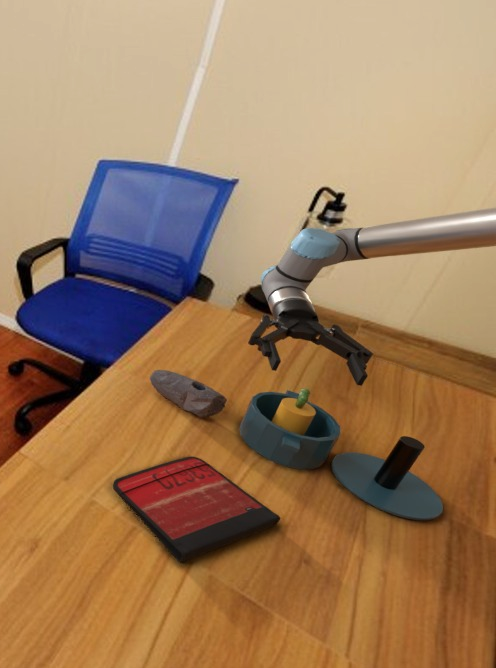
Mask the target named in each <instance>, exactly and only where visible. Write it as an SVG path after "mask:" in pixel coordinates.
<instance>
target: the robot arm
mask: <svg viewBox="0 0 496 668" xmlns="http://www.w3.org/2000/svg"><path fill="white" fill-rule="evenodd" d="M490 247H491V248H493V247H496V206H495V207H488V208H482V209H475V210H469V211H468V210H467V211H462V212H456V213H449V214H442V215H435V216H428V217H421V218H414V219H409V220H402V221H395V222H388V223H381V224H376V225H367V226H363V227H354V228H353V227H352V228H351V227H350V228H349V227H348V228H347V227H346V228H342V229H338V230H335V231H332V232H331V231H328V230H325V229H323V228H319V227H315V228H314V227H307V228H304V229H301V231H300V232H299V233H298V234H297V235H296V237H295V238H293V240H292V241H291V243H290V245H289V246H288V248H287V250H286V251H285V253H284V254H283V256H282V257H281V259H280V260H279V262H277V264H276V265H273V266H271V267H269V268H267V269H265V270H263V272H262V274H261V275H260V283H261V290H262V293H264V296H265V298H266V301H267V304H268V307H269V310H270V312H271V315H272V318H270V315H269V314H263V315H262V317H261V319H260V321H259V324H258V325H257V327H256V328H255V329H254V331H253V332H252V333H251V335H250V338H249V340H248V342H247V344H248V345H249V346H255V345H256V346H257V348H256V349H257V351H259V352H261V355H262V356H263V357H267V359H268V363H269V366H270V369H271V371H274V372H275V371H276V372H277V370H278V368H279V366H280V364H281V362H282V360H281V357H280V354H279V351H278V348H277V345H276V343H279V342H280V341H282V340H286V339H287V338H289V337H290V338H292V339H294V340H295V339H296V340H303V341H307V342H311V343H313V344H314V345H316V346H322V347H324V348H325V349H327V350H329V351H331V352H332V353H334V354H336V355H337V356H339V357H341V358H342V359H345V361H346V366H347V369H348V370H349V372H350V374H351V376H352V379H353V380H354V382H355V384H356V386H360V387H361V386H363V384H364V383H365V381H366V379H367V378H368V377H369V375H368V372H367V371H366V370H367V368H368V365H367V364H368V363H369V361H370V360H371V359H372V357H373V355H374V353H373V352H372V351H370V349H368V348H366V347H365V346H364V345H363V344H361V343H360V342H358V341H357V340H356V339H354V338H353V337H352V336H350V335H349V334H348V333H346V332H345V331H343V329H342V328H341V327H340V325H338V324H332V326H330V327H329V326H324V325H323V324H322V323H320V321H319V320H320V319H319V316H318V314H317V312H316V310H315V307H314V305H313V303H312V301H311V298H310V297H309V294H308V293H307V291H306V290H307V289H308V287H309V286H310V284H311V283H312V282H313V281H314V279H315V278H316V277H317V276H318V274H319V273H320V272H321V271H322V269H323V268H327V267H330V266H334V265H338V264H340V263H345V262H346V263H347V262H352V261H360V260H361V261H363V260H369V259H370V260H371V259H379V258H380V259H381V258H391V257H399V256H410V255H421V254H429V253H430V254H431V253H440V252H450V251H461V250H470V249H481V248H490ZM273 326H274V327H275V330H273V331H271V332H269V333H268V334H265V332H266V331H267V330H268V329H270V328H272V327H273ZM264 334H265V335H264ZM263 335H264V336H263Z"/></svg>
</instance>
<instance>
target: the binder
mask: <svg viewBox="0 0 496 668" xmlns="http://www.w3.org/2000/svg"><path fill="white" fill-rule="evenodd" d="M112 488H113V490H114V491H115V493H116V494H117V495H118V496H119V498H121V499H122V500H123V501H124V503H125V504H126V505H127V506H128V507H129V508H130V509H131V510H132V512H133V513H135V515H137V517H138V518H139V519H140V520H141V521H142V523H143V524H145V525H146V527H148V529H149V530H150V531H151V532H152V533H153V535H154V536H155V537H156V538H157V539H158V540H159V541H160V543H162V545H163V546H164V547H165V548H166V549H167V550H168V552H169V553H171V555H172V556H173V557H174V558H175V559H176V560H177V561H178V562H179V563H184V562H185V561H188V560H191V559H194V558H196V557H199V556H201V555H205V554H207V553H210V552H212V551H214V550H217V549H220V548H222V547H225V546H227V545H229V544H231V543H234V542H237V541H239V540H242V539H244V538H246V537H249V536H252V535H254V534H257V533H259V532H261V531H264V530H266V529H269V528H271V527H275V526H277V525H278V523H279V522H280V521H281V516H280V515H279V514H277V513H275V512H274V511H273V510H271V509H270V508H268V507H267V506H266V505H264V504H263V503H262V502H260V501H259V500H257V499H256V498H255V497H253V496H252V495H251V494H249V493H248V492H247V491H245V490H244V489H242V488H241V487H240V486H239V485H237V484H236V483H235V482H233V481H232V480H231V479H229V478H228V477H227V476H225V475H224V474H223V473H221V472H220V471H218V470H217V469H216V468H214V467H213V466H211V465H210V464H209V463H208V462H207V461H205V460H203V459H202V458H199V457H196V456H186V457H182V458H178V459H173V460H171V461H167V462H164V463H160V464H158V465H154V466H151V467H148V468H145V469H141V470H138V471H136V472H135V471H134V472H132V473H129V474H126V475H123V476H121V477H118V478H116V479H115V480H114V481H113V483H112Z"/></svg>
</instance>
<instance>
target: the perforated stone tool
mask: <svg viewBox="0 0 496 668" xmlns="http://www.w3.org/2000/svg"><path fill="white" fill-rule="evenodd" d="M149 381H150V384H151V385H152V387H153V388H154V390H156V392H158V393H159V394H160V395H161V396H162V397H164V398H166V399H168V400H169V401H170V402H171V403H172V404H175V405H176V406H178V407H179V408H181V409H182V410H184V411H186V412H189V413H191V414H193V415H196V416H197V417H199V418H206V417H213V416H215V415H218V414H220V413H221V412H222V411H223V410H224V408H226V403H227V402H228V399H227V398H226V397H225V396H224V395H223V394H222V393H220V392H219V391H216V390H215V389H213V388H212V387H210V386H208V385H207V384H204V383H202V382H201V381H199V380H196V379H194V378H191V377H189V376H186V375H183V374H180V373H178V372H175V371H171V370H168V369H167V370H166V369H155V370H153V371H152V373H151V374H150V375H149Z"/></svg>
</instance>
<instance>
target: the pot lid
mask: <svg viewBox="0 0 496 668" xmlns="http://www.w3.org/2000/svg"><path fill="white" fill-rule="evenodd" d="M425 447H426V446H425V444H424V443H423V442H421V441H420V440H419V439H417V438H414V437H412V436H407V435H403V436H400V437H399V439H398V440H397V442H396V443H395V445H394V446H393V448H391V449H392V450H391V451H390V453H389V454H388V456H386V459H384V458H381V457H377V456H375V455H370V454H367V453H361V452H352V451H351V452H341V453H339V454H337V455H335V456H334V457H333V459H332V460H331V464H330V465H331V471H332V473H333V475H334V476H335V478H336V479H337V480H338V481H339V482H340V483H341V485H342V486H343V487H345V489H347V490H348V491H349V492H351V493H352V494H353V495H355V496H356V497H357V498H358V499H360V500H362V501H363V502H366V503H367V504H369V505H371V506H373V507H375V508H377V509H379V510H381V511H383V512H386V513H388V514H391V515H393V516H397V517H400V518H404V519H409V520H415V521H431V520H435V519H437V518H439V517H440V516H441V515H442V513H443V510H444V505H443V501H442V499H441V498H440V495H438V493H437V492H436V491H435V490H434V489H433V487H431V486H430V485H429V484H428V483H427V482H425V481H424V480H423V479H421V478H420V477H419V476H418V475H416V474H415V473H412V472H411V471H410V469H411V468H412V467H413V466H414V464H415V463H416V461H417V459H418V458H419V456H420V455H421V454H422V453H423V451H424V449H425Z"/></svg>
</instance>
